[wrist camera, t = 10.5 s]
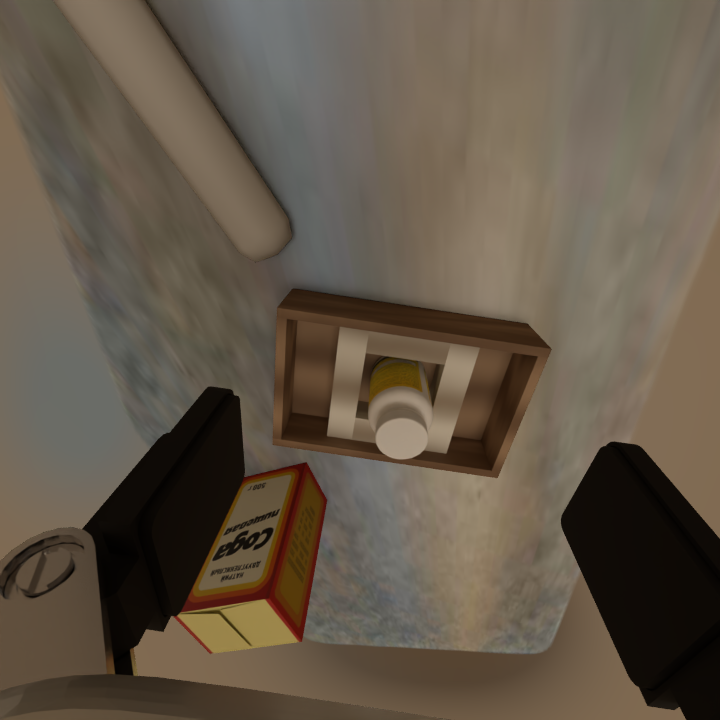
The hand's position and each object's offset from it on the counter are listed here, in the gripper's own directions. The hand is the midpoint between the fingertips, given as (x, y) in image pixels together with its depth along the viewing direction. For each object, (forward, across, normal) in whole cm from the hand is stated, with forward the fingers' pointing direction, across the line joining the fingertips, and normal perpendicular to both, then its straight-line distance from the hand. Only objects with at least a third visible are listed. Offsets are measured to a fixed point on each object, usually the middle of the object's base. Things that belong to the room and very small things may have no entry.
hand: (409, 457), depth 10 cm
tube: (+26, +18, -9) cm, 32 cm away
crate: (+25, -2, +12) cm, 27 cm away
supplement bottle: (+24, -2, +12) cm, 27 cm away
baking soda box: (+24, +10, +30) cm, 40 cm away
